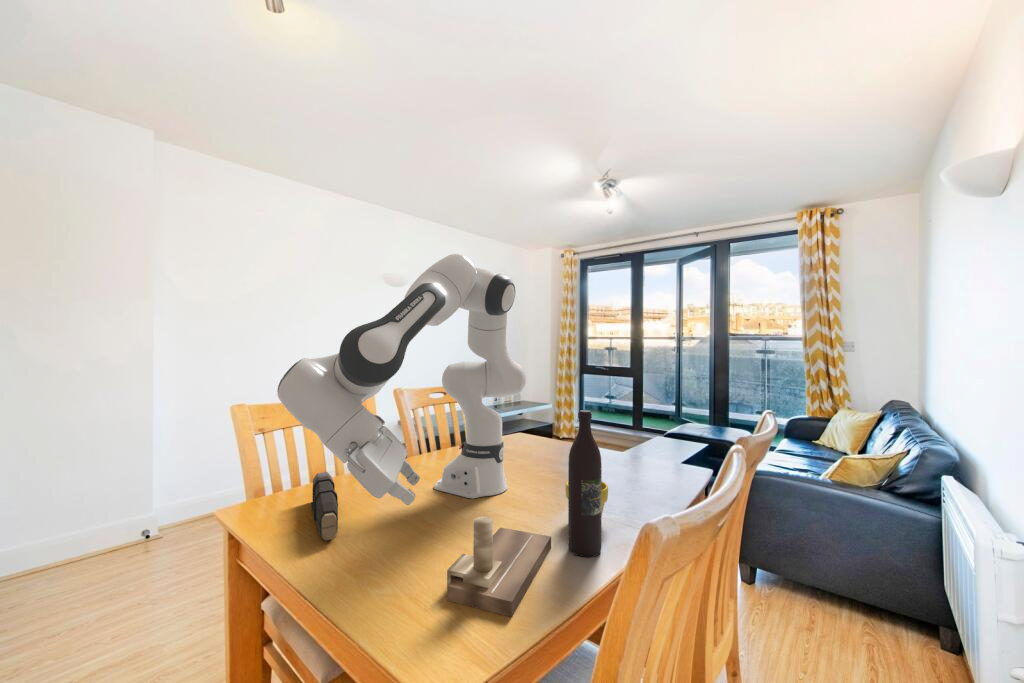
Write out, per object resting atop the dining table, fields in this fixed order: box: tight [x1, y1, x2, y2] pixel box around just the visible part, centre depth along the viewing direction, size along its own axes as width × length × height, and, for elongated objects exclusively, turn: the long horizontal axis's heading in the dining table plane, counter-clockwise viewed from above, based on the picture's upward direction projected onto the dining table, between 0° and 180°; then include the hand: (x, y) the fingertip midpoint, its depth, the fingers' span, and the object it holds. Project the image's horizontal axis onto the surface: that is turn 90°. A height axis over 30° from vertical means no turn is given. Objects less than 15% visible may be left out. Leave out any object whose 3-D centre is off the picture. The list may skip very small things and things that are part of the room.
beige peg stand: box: [446, 516, 502, 588], centre depth 74 cm, size 8×6×12 cm
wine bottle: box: [567, 409, 602, 558], centre depth 88 cm, size 7×7×30 cm
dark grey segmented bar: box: [310, 471, 339, 541], centre depth 102 cm, size 11×7×30 cm
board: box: [446, 527, 552, 618], centre depth 79 cm, size 12×24×3 cm, turn 159°
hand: (414, 490), depth 72 cm, fingers open, 8 cm apart
